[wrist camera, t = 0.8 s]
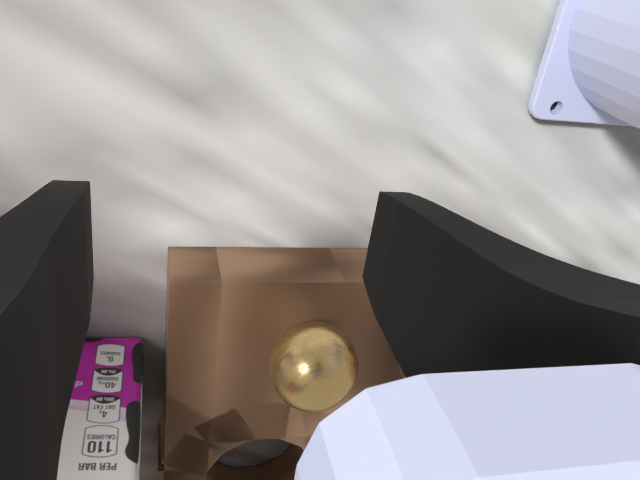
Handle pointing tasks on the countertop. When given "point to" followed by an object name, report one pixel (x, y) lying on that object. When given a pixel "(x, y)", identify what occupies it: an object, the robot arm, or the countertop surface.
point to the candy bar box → (104, 413)
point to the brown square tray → (253, 351)
